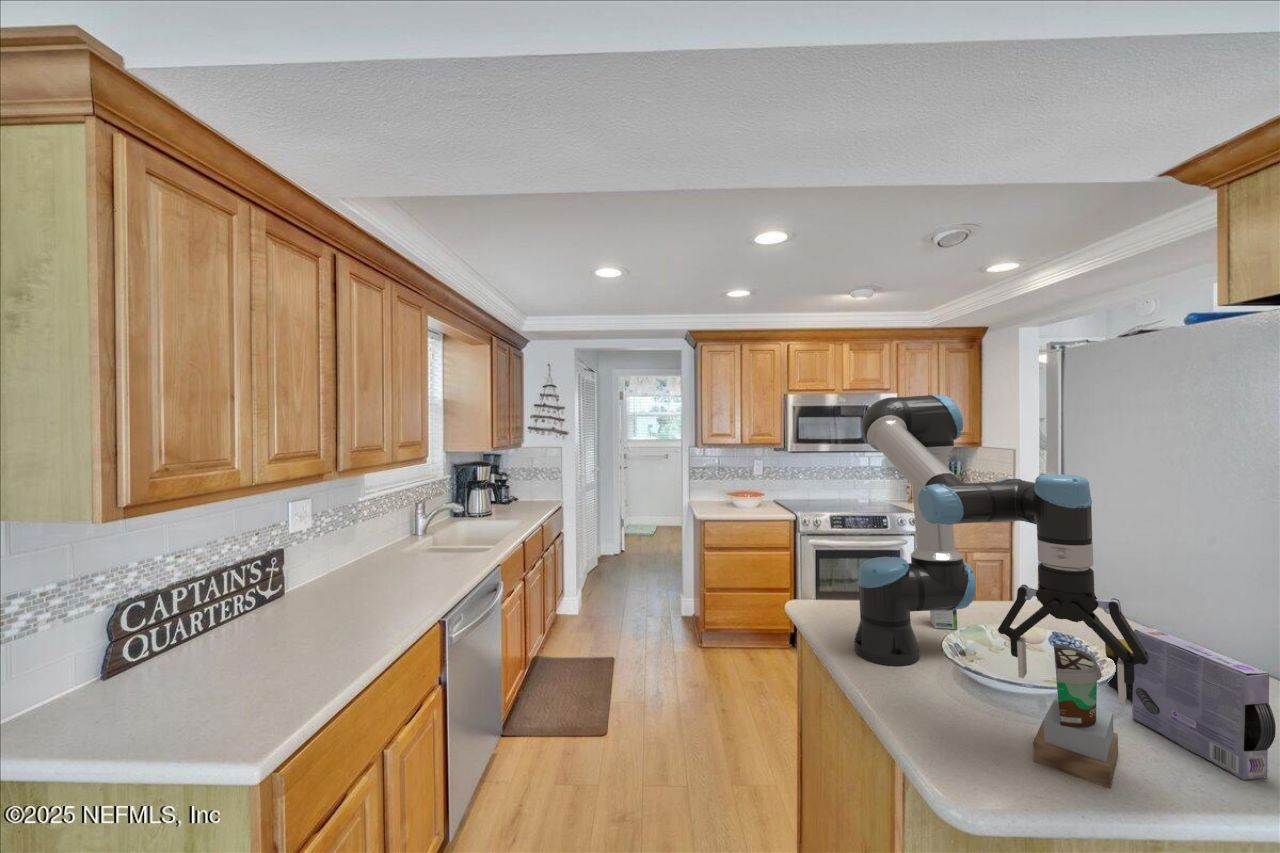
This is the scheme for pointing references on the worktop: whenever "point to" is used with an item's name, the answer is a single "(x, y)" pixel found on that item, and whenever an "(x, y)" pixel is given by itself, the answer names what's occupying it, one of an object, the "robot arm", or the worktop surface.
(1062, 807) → the worktop surface
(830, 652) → the worktop surface
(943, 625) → the syrup box
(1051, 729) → the slate top block
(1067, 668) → the food container
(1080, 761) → the walnut base block
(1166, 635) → the cake pan box
